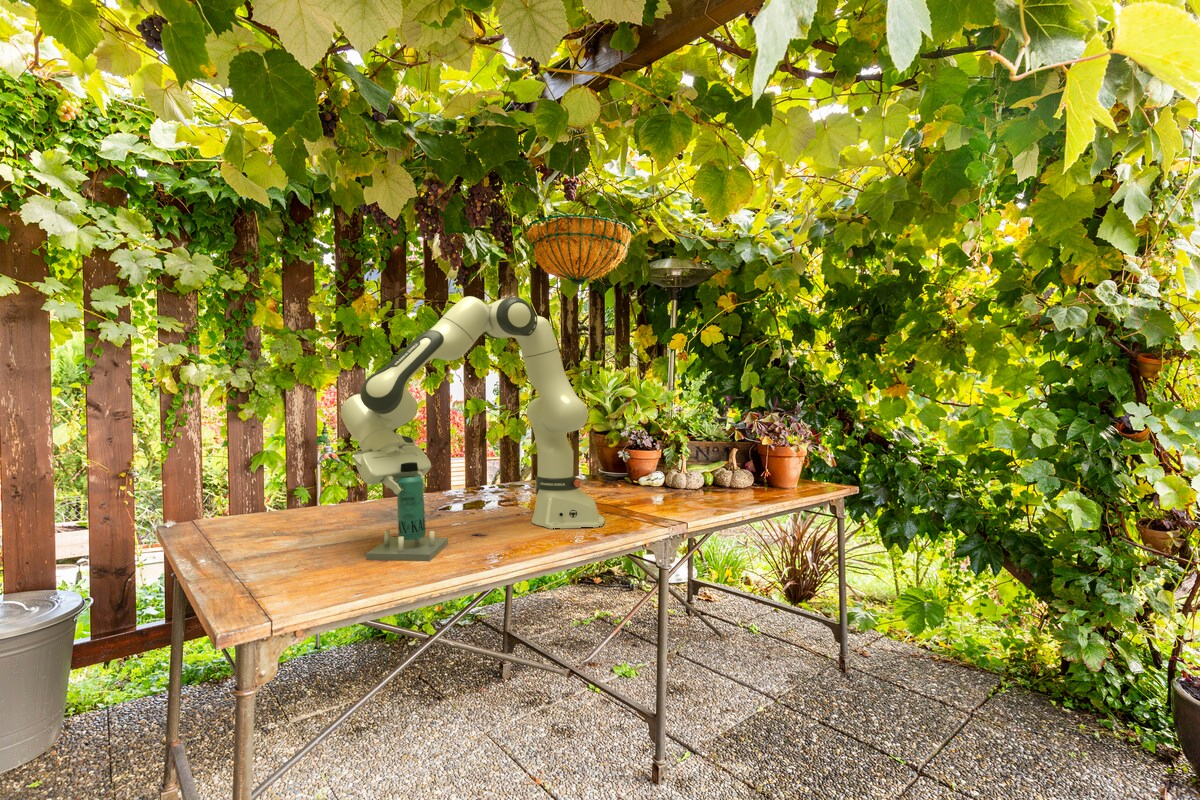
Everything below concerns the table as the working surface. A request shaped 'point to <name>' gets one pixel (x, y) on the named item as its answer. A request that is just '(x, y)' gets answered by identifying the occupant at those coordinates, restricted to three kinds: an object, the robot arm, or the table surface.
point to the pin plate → (407, 548)
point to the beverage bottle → (411, 504)
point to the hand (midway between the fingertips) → (412, 490)
